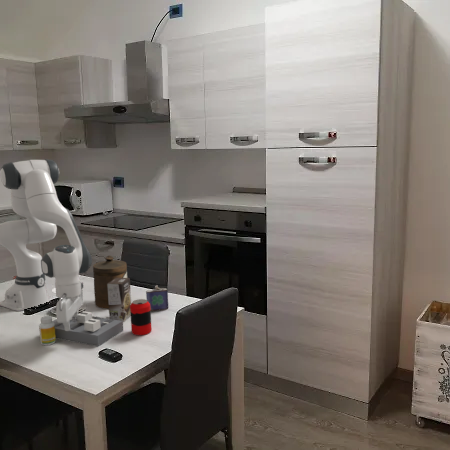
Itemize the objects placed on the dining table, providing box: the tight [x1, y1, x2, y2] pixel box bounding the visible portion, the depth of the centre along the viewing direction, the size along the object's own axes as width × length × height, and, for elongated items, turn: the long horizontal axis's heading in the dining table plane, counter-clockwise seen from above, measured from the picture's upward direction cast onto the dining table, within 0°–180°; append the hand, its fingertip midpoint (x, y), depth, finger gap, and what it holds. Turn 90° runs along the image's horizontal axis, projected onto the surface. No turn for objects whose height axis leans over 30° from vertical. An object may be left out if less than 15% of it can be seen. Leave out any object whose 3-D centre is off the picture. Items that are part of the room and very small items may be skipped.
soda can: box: [130, 298, 152, 336], centre depth 186 cm, size 8×8×12 cm
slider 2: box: [84, 319, 101, 332], centre depth 178 cm, size 4×4×3 cm
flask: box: [145, 284, 169, 312], centre depth 209 cm, size 9×3×11 cm, turn 104°
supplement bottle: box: [38, 315, 57, 346], centre depth 178 cm, size 5×5×10 cm
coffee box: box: [107, 277, 132, 323], centre depth 200 cm, size 9×6×16 cm
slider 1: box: [77, 310, 93, 323], centre depth 186 cm, size 4×4×3 cm
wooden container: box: [92, 255, 128, 310], centre depth 218 cm, size 15×15×22 cm
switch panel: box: [52, 315, 124, 347], centre depth 187 cm, size 32×15×4 cm, turn 66°
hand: (71, 325), depth 180 cm, fingers open, 7 cm apart
